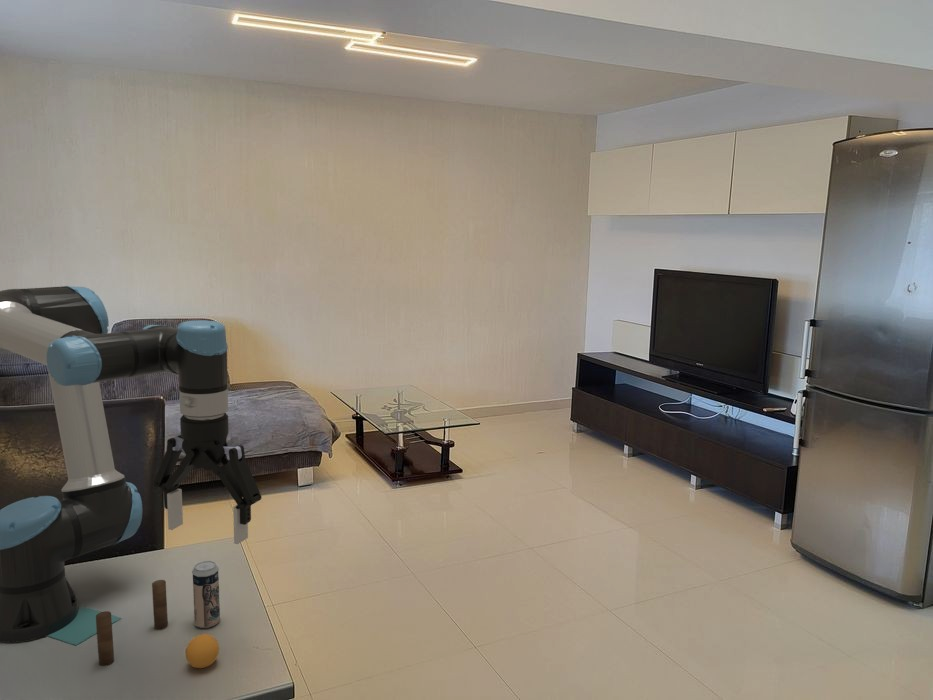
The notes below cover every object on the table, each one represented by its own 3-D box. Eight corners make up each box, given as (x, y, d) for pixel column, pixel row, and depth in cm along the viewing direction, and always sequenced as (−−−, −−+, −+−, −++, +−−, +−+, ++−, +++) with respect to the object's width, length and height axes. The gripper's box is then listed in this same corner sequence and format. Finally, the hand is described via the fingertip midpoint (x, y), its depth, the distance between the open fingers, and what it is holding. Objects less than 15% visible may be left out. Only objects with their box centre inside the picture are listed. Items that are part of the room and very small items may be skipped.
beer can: (211, 631, 133) (209, 573, 131) (189, 628, 134) (186, 570, 132) (225, 618, 138) (223, 561, 136) (203, 614, 139) (201, 558, 137)
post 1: (95, 663, 122) (92, 616, 121) (107, 656, 125) (104, 610, 123) (105, 667, 121) (102, 619, 120) (117, 659, 124) (114, 613, 122)
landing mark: (37, 632, 131) (37, 631, 131) (84, 607, 140) (84, 606, 140) (75, 645, 127) (75, 644, 127) (121, 618, 137) (121, 617, 136)
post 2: (151, 627, 134) (149, 584, 132) (161, 621, 136) (158, 578, 134) (161, 630, 133) (158, 587, 131) (170, 624, 135) (168, 581, 133)
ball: (179, 669, 121) (177, 641, 120) (202, 652, 126) (200, 625, 125) (204, 678, 119) (202, 648, 118) (226, 660, 124) (225, 632, 123)
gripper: (127, 410, 116) (133, 529, 120) (254, 429, 108) (256, 556, 112) (160, 400, 123) (165, 513, 127) (281, 417, 115) (282, 537, 119)
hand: (207, 533), depth 119 cm, fingers open, 13 cm apart
